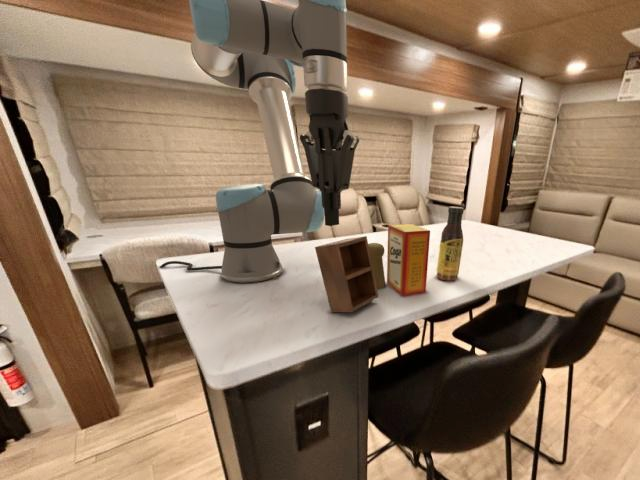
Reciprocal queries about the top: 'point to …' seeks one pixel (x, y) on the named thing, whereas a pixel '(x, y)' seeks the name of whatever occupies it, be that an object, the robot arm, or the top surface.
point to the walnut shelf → (347, 274)
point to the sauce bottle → (451, 246)
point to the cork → (377, 263)
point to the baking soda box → (407, 258)
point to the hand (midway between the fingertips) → (332, 224)
